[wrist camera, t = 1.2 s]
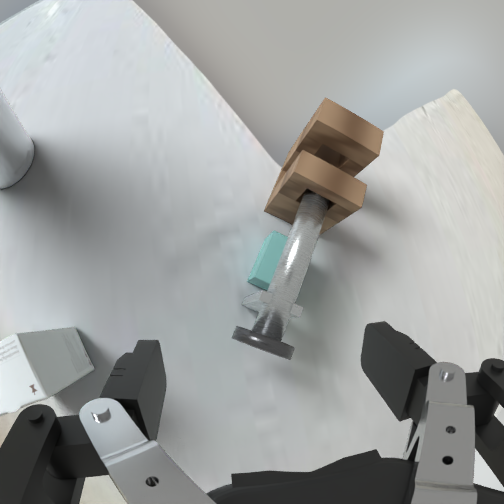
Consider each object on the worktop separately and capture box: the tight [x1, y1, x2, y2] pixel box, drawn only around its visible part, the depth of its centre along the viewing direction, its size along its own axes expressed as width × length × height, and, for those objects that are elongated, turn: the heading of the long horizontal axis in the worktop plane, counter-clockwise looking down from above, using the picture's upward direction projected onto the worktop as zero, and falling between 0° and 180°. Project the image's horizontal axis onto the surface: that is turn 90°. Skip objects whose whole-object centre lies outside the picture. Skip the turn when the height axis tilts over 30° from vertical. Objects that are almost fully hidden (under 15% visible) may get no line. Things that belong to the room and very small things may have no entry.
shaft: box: [232, 188, 330, 360], centre depth 34 cm, size 6×21×10 cm, turn 158°
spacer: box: [247, 231, 288, 291], centre depth 38 cm, size 5×6×4 cm
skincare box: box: [0, 327, 94, 416], centre depth 24 cm, size 8×6×15 cm
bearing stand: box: [264, 98, 383, 235], centre depth 37 cm, size 8×10×13 cm
